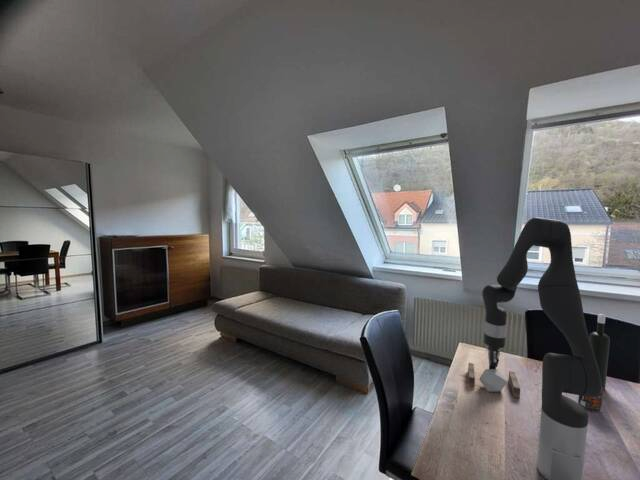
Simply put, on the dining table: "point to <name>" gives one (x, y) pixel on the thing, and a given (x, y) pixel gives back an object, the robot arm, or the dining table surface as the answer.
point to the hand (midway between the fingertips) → (492, 373)
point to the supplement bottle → (591, 402)
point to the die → (493, 380)
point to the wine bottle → (601, 347)
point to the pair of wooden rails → (512, 380)
